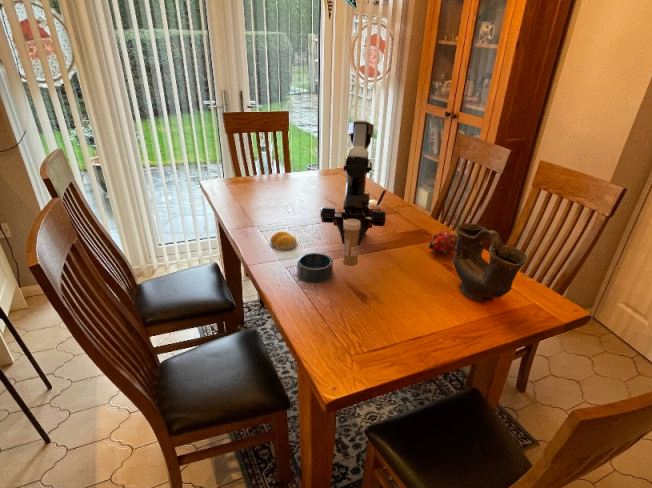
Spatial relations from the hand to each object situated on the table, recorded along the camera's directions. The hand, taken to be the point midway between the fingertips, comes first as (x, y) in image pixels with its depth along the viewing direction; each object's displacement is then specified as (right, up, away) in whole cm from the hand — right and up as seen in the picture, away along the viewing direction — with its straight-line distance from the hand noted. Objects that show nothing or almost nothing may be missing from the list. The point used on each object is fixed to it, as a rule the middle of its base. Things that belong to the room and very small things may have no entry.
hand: (351, 244), depth 122 cm
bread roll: (-23, +2, +24) cm, 34 cm away
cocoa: (+9, +17, +51) cm, 54 cm away
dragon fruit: (+31, -1, +25) cm, 40 cm away
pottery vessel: (+37, -14, +4) cm, 40 cm away
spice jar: (0, -5, +5) cm, 7 cm away
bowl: (-11, -8, +8) cm, 16 cm away
